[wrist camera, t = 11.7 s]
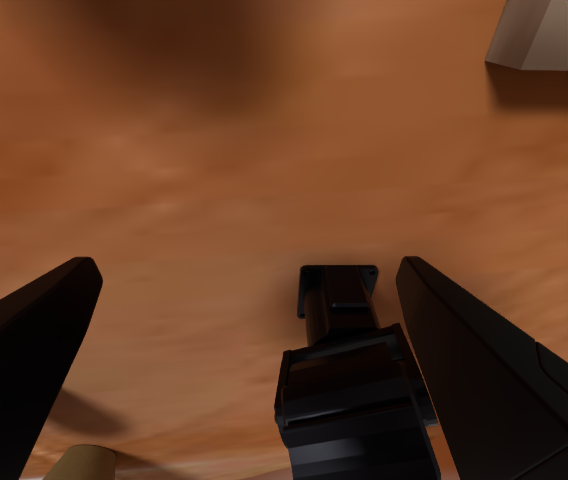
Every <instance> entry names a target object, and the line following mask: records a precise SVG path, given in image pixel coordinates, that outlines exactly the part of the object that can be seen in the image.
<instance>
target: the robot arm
mask: <svg viewBox="0 0 568 480" xmlns="http://www.w3.org/2000/svg"><path fill="white" fill-rule="evenodd" d="M304 271H308V272H304ZM371 271H372V272H371ZM377 276H378V269H377V267H376V266H374V265H305V266H302V267H301V268H300V278H299V293H298V307H297V316H298V318H300V319H305V321H306V332H307V342H308V347H305V348H301V349H296V350H292V351H291V350H287V351H284V352H283V358H282V362H281V368H280V374H279V380H278V386H277V392H276V398H275V404H274V410H275V416H274V417H275V422H276V424H278V428H279V432H280V435H281V438H282V441H283V443H284V445H285V446H286V448H287V449H288V451H289V456H290V461H291V466H292V473H293V480H441V473H440V469H439V466H438V463H437V460H436V457H435V454H434V451H433V448H432V446H431V442H430V439H429V437H428V434H427V431H426V428H425V427H431V426H437V425H438V421H437V417H436V414H435V411H434V408H433V405H432V402H433V404H434V407H435V410H436V413H437V416H438V418H439V421H440V424H441V427H442V430H443V432H444V435H445V438H446V441H447V444H448V446H449V449H450V452H451V455H452V457H453V460H454V463H455V466H456V469H457V471H458V474H459V477H460V480H568V362H566V361H565V360H563V359H562V358H560V357H559V356H557V355H556V354H555V353H553V352H552V351H550V350H549V349H548V348H546V347H545V346H543V345H542V344H541V343H539V342H535V339H533V338H532V337H531V336H529V335H528V334H526V333H525V332H524V331H522V330H521V329H519V328H518V327H517V326H515V325H514V324H512V323H511V322H510V321H508V320H507V319H505V318H504V317H503V316H501V315H500V314H498V313H497V312H496V311H494V310H493V309H491V308H490V307H489V306H487V305H486V304H484V303H483V302H482V301H480V300H479V299H477V298H476V297H475V296H473V295H472V294H470V293H469V292H468V291H466V290H465V289H464V288H462V287H461V286H459V285H458V284H457V283H455V282H454V281H452V280H451V279H450V278H448V277H447V276H445V275H444V274H443V273H441V272H440V271H438V270H437V269H436V268H434V267H433V266H431V265H430V264H429V263H427V262H426V261H424V260H423V259H422V258H420V257H418V256H405V257H404V258H403V259H402V261H401V264H400V267H399V270H398V273H397V276H396V285H397V289H398V294H399V298H400V302H401V307H402V311H403V315H404V320H405V324H406V328H407V331H408V334H409V337H410V340H411V343H412V346H413V348H414V351H415V354H416V357H417V360H418V362H419V365H420V368H421V371H422V374H423V376H424V379H425V382H426V385H427V388H428V390H429V393H430V396H431V399H432V402H431V399H430V396H429V394H428V391H427V388H426V385H425V383H424V380H423V378H422V375H421V372H420V370H419V368H418V365H417V363H416V360H415V358H414V356H413V353H412V351H411V349H410V346H409V344H408V342H407V339H406V337H405V335H404V332H403V330H402V328H401V325H400V323H396V324H392V326H389V327H385V328H380V325H379V322H378V318H377V315H376V312H375V309H374V306H373V303H372V300H371V297H372V293H373V290H374V286H375V283H376V279H377ZM102 284H103V279H102V275H101V273H100V271H99V269H98V267H97V265H96V263H95V261H94V260H93V259H92V258H91V257H74V258H72V259H70V260H69V261H67V262H65V263H63V264H62V265H60V266H58V267H56V268H55V269H53V270H51V271H49V272H48V273H46V274H44V275H42V276H41V277H39V278H37V279H35V280H34V281H32V282H30V283H28V284H27V285H25V286H23V287H21V288H20V289H18V290H16V291H14V292H13V293H11V294H9V295H7V296H6V297H4V298H2V299H0V480H19V478H20V476H21V474H22V471H23V469H24V467H25V465H26V463H27V461H28V458H29V456H30V454H31V452H32V450H33V448H34V445H35V443H36V441H37V439H38V437H39V435H40V432H41V430H42V428H43V426H44V424H45V422H46V419H47V417H48V415H49V413H50V411H51V409H52V406H53V404H54V402H55V400H56V398H57V396H58V393H59V391H60V389H61V387H62V385H63V383H64V380H65V378H66V376H67V374H68V372H69V370H70V367H71V365H72V363H73V361H74V359H75V357H76V354H77V352H78V350H79V348H80V346H81V344H82V341H83V339H84V337H85V334H86V332H87V329H88V327H89V324H90V321H91V318H92V315H93V312H94V309H95V306H96V303H97V300H98V297H99V294H100V291H101V288H102Z"/></svg>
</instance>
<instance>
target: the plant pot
mask: <svg viewBox="0 0 568 480" xmlns="http://www.w3.org/2000/svg"><path fill="white" fill-rule="evenodd" d="M115 458H116V456H115V454H114V452H112V451H111V450H109V449H106V448H103V447H99V446H94V445H77V446H73V447H71V448H69V449H68V450H67V451H66V453H65V454H64V455H63V456H62V457H61V458H60V459H59V461H58V462H57V463H56V464H55V465H54V466H53V468H52V469H51V470H50V471H49V472H48V473H47V475H46V476H45V477H44V478H43V479H42V480H115Z"/></svg>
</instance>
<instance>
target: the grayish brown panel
mask: <svg viewBox="0 0 568 480" xmlns="http://www.w3.org/2000/svg"><path fill="white" fill-rule="evenodd" d="M485 61H488V62H492V63H496V64H500V65H503V66H507V67H511V68H515V69H519V70H558V71H568V0H507V2H506V5H505V7H504V10H503V13H502V16H501V18H500V21H499V24H498V26H497V29H496V32H495V35H494V37H493V40H492V43H491V45H490V48H489V51H488V54H487V56H486V59H485Z"/></svg>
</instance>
